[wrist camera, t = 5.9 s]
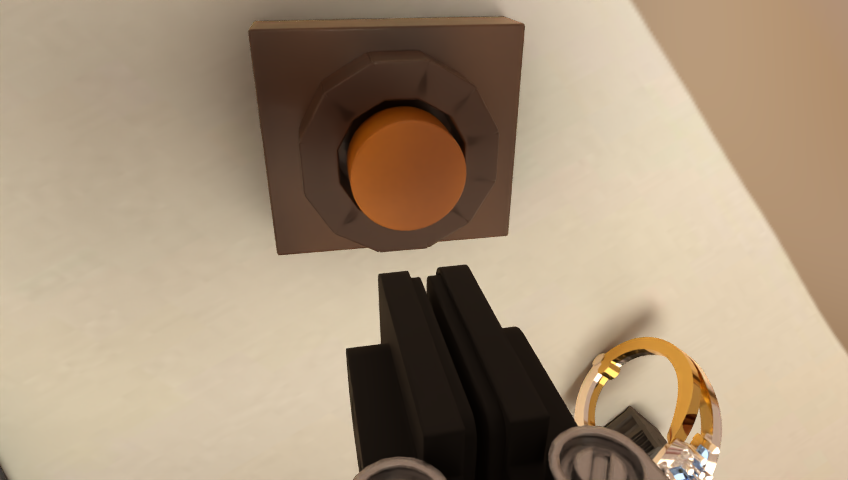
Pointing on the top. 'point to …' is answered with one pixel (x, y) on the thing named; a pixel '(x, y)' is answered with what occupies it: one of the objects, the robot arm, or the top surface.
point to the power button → (405, 168)
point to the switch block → (370, 93)
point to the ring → (695, 392)
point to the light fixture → (639, 431)
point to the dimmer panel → (2, 475)
